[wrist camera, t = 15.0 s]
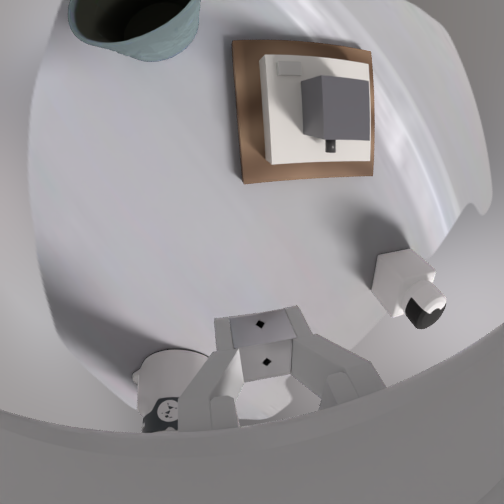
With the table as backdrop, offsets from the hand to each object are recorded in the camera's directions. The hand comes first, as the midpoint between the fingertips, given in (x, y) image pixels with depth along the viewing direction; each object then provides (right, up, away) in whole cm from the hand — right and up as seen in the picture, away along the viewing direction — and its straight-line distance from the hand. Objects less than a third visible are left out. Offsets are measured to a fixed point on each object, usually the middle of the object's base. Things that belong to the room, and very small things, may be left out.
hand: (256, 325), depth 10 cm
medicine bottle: (+22, 0, +31) cm, 38 cm away
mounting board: (+6, +19, +17) cm, 26 cm away
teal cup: (-10, +26, +11) cm, 30 cm away
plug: (+7, +17, +15) cm, 24 cm away
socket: (+6, +18, +16) cm, 25 cm away
